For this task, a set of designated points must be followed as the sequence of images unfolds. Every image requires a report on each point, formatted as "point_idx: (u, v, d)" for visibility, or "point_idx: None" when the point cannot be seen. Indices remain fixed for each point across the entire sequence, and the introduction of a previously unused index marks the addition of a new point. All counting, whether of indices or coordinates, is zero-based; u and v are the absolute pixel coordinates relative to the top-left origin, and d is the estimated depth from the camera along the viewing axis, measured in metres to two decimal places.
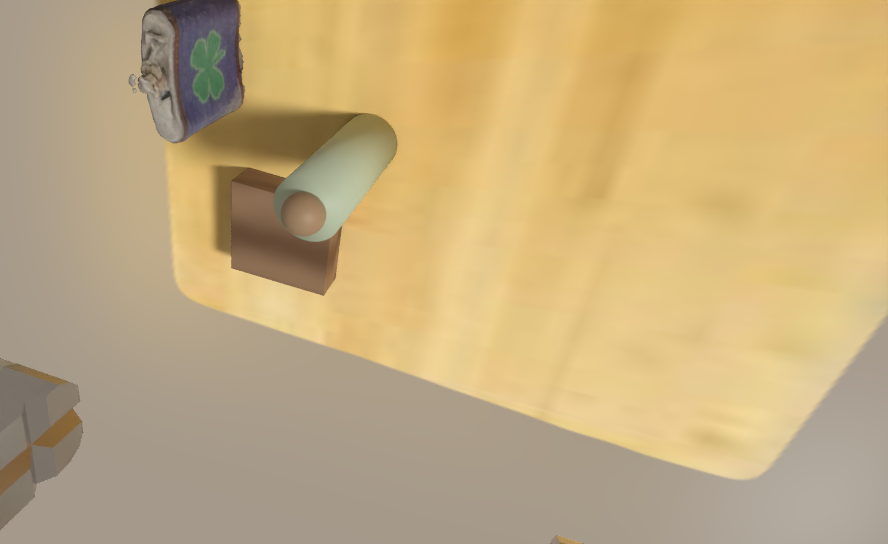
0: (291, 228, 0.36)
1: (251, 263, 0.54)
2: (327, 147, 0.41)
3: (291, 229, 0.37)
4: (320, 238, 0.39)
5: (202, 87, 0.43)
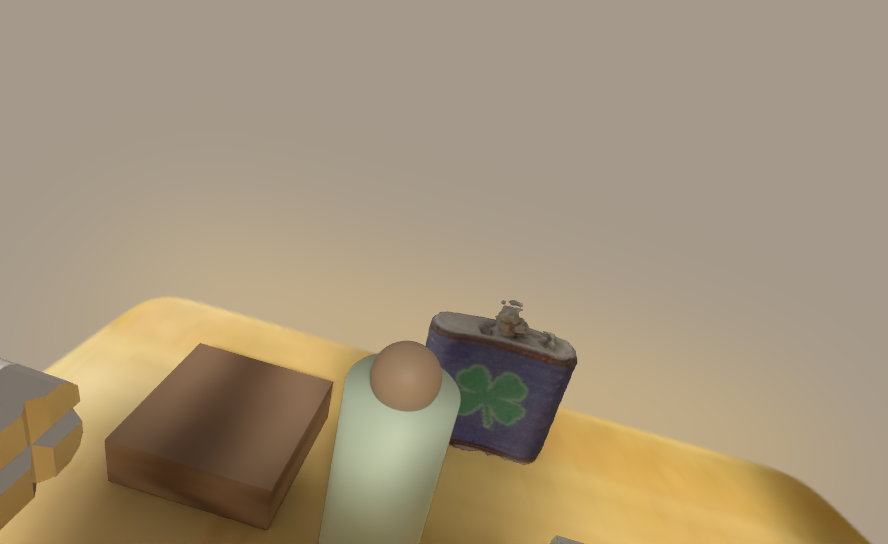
0: (404, 344, 0.23)
1: (200, 365, 0.36)
2: None
3: (400, 344, 0.23)
4: (351, 393, 0.22)
5: (472, 379, 0.37)
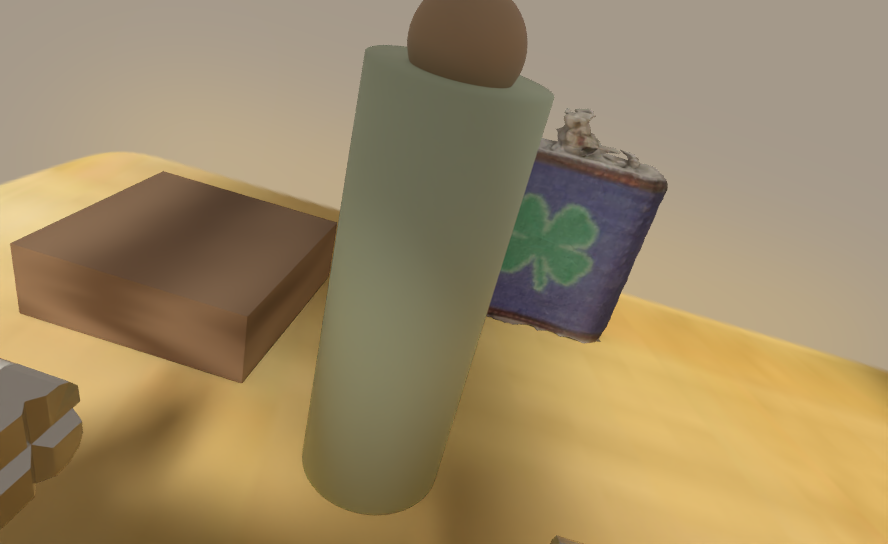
0: None
1: (161, 190, 0.27)
2: None
3: None
4: (377, 57, 0.13)
5: (523, 216, 0.28)
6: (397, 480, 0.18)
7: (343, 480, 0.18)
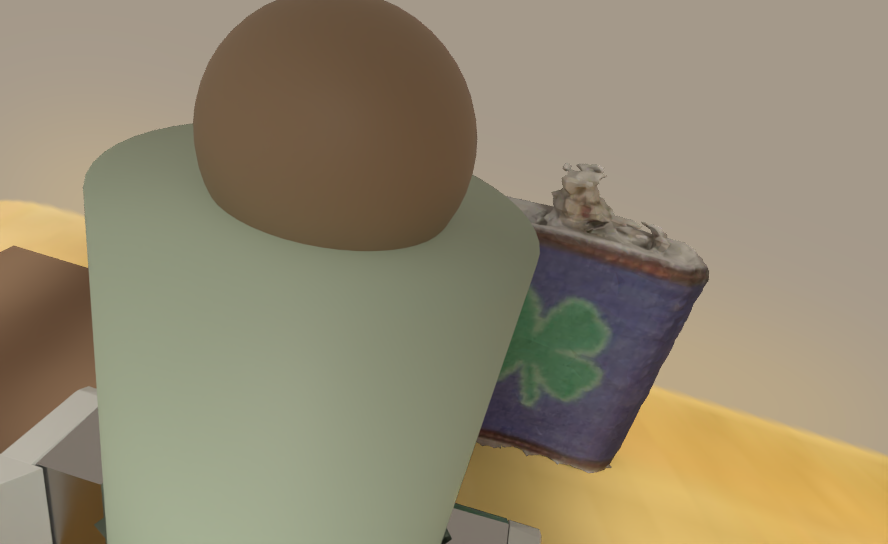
0: None
1: None
2: None
3: None
4: (112, 176, 0.06)
5: None
6: None
7: None
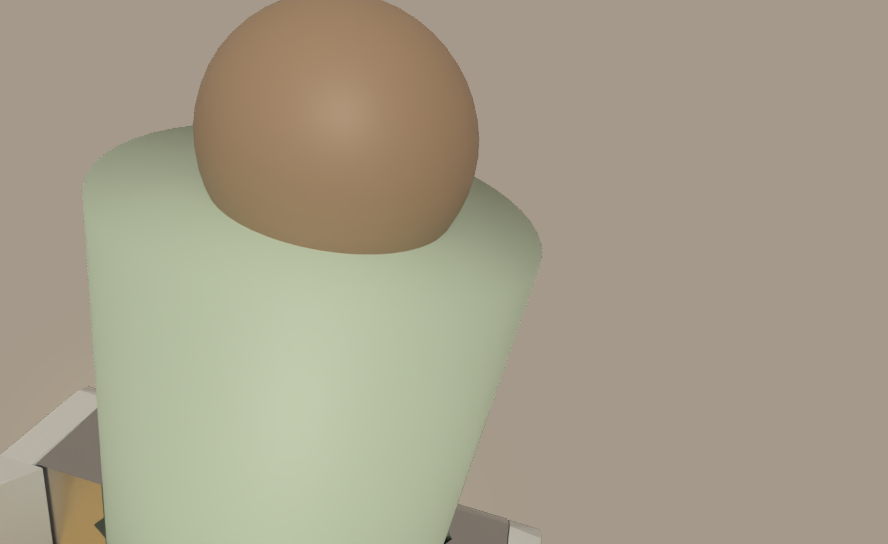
0: None
1: None
2: None
3: None
4: (111, 180, 0.06)
5: None
6: None
7: None
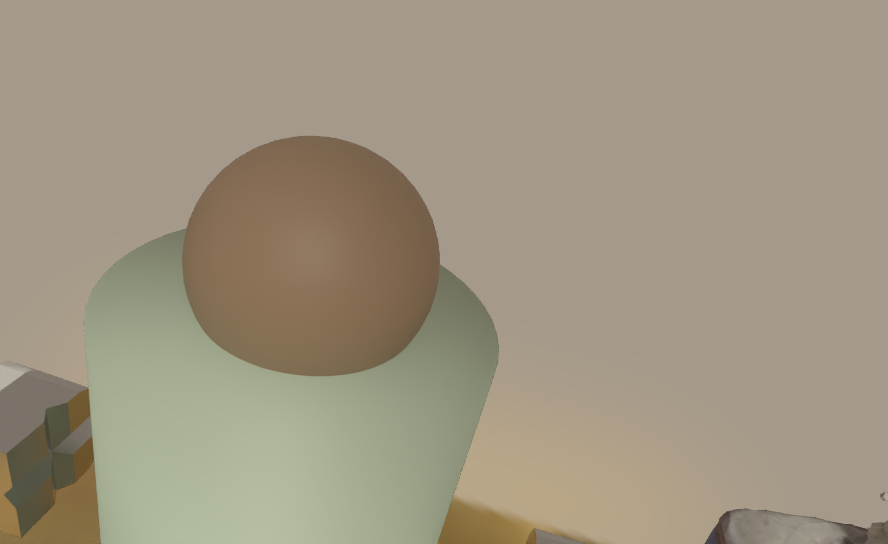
0: (305, 136, 0.06)
1: None
2: None
3: None
4: (109, 307, 0.06)
5: None
6: None
7: None
